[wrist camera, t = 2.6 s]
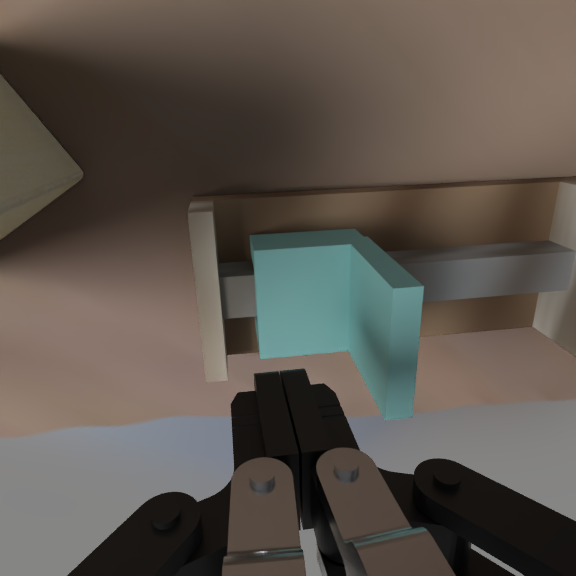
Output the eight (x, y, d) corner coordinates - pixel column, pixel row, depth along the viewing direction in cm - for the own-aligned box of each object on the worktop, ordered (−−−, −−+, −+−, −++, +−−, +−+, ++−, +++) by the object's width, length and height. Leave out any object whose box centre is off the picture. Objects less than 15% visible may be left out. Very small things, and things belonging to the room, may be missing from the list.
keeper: (354, 225, 22) (423, 286, 14) (352, 320, 24) (412, 417, 16) (249, 231, 21) (265, 298, 14) (255, 328, 23) (271, 433, 16)
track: (579, 176, 24) (686, 197, 18) (550, 314, 27) (636, 368, 21) (192, 196, 22) (182, 227, 16) (208, 345, 25) (204, 414, 19)
